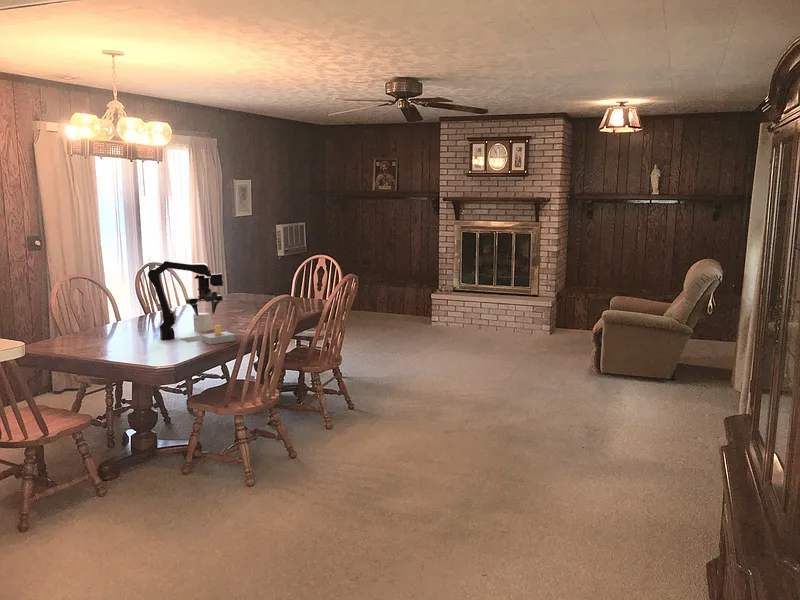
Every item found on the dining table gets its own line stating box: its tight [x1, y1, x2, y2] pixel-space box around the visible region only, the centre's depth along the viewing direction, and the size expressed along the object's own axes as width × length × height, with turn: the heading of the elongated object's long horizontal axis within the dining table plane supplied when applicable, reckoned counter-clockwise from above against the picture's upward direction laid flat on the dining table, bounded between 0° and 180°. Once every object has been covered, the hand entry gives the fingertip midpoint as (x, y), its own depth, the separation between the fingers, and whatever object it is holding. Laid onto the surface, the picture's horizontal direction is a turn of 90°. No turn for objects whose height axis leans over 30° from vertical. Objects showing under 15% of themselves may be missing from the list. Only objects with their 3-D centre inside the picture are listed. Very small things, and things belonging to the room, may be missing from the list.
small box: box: [192, 312, 212, 333], centre depth 381 cm, size 8×6×10 cm
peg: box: [214, 324, 222, 336], centre depth 355 cm, size 3×3×9 cm
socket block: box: [201, 330, 236, 345], centre depth 355 cm, size 14×10×4 cm
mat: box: [179, 334, 203, 343], centre depth 360 cm, size 14×12×1 cm
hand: (205, 314), depth 362 cm, fingers open, 9 cm apart
